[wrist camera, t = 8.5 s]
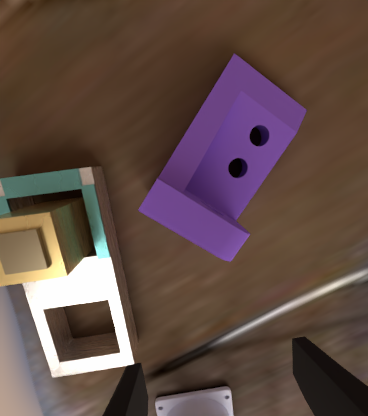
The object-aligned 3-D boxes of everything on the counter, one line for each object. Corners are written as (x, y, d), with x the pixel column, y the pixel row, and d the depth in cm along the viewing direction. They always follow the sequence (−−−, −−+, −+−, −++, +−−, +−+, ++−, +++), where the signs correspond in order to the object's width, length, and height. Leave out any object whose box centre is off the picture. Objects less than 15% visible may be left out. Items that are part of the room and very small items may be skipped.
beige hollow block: (100, 240, 19) (64, 279, 12) (54, 247, 18) (-5, 289, 12) (89, 195, 18) (46, 213, 12) (41, 202, 18) (-29, 223, 11)
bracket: (215, 232, 19) (238, 268, 13) (150, 192, 18) (137, 210, 12) (295, 114, 18) (371, 85, 11) (228, 63, 17) (267, -5, 10)
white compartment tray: (138, 340, 21) (133, 366, 18) (66, 352, 21) (51, 379, 18) (102, 166, 17) (89, 166, 15) (14, 177, 17) (-14, 180, 14)
